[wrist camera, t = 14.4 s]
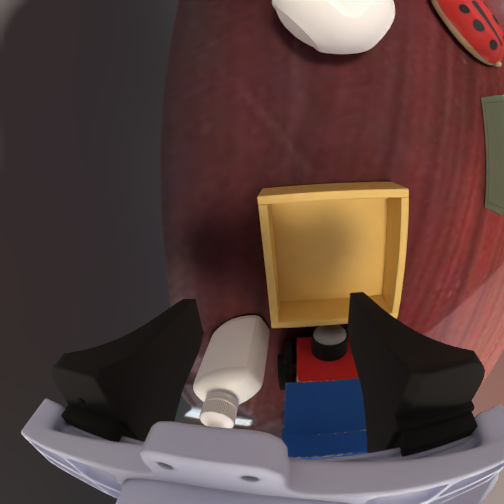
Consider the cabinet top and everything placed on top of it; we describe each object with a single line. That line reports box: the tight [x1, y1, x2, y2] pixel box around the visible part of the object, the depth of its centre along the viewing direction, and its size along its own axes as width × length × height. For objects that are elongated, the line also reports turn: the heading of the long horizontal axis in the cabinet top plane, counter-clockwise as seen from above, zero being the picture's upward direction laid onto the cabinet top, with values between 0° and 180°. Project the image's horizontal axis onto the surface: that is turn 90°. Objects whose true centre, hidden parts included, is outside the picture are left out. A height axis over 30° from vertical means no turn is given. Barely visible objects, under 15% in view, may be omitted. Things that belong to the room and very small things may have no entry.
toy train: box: [278, 325, 367, 459], centre depth 21 cm, size 9×20×15 cm, turn 6°
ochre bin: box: [257, 182, 409, 328], centre depth 20 cm, size 10×10×4 cm
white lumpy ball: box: [272, 0, 395, 54], centre depth 12 cm, size 8×8×8 cm
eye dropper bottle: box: [193, 315, 270, 428], centre depth 20 cm, size 4×6×12 cm
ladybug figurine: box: [431, 0, 504, 67], centre depth 10 cm, size 7×10×4 cm
